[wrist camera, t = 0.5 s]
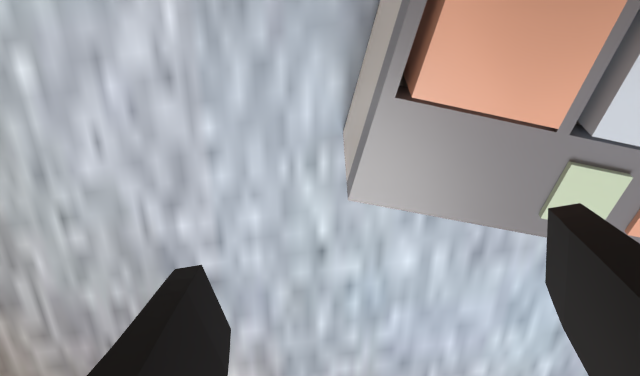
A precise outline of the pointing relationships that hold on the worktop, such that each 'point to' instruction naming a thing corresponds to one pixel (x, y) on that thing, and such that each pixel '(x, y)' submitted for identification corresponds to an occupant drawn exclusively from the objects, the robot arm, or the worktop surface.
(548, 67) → the terracotta key
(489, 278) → the worktop surface
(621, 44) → the blue key
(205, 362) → the robot arm
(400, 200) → the keypad
